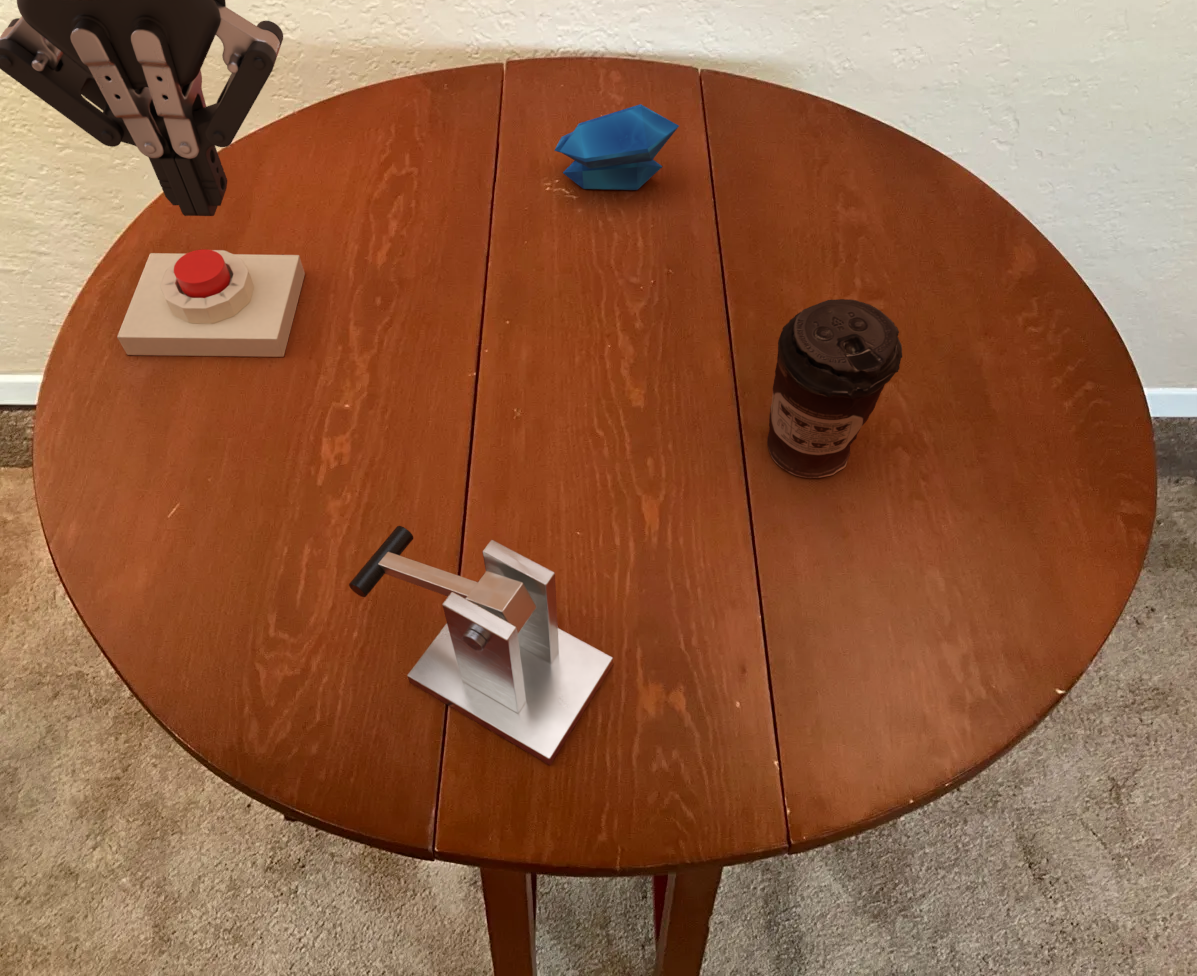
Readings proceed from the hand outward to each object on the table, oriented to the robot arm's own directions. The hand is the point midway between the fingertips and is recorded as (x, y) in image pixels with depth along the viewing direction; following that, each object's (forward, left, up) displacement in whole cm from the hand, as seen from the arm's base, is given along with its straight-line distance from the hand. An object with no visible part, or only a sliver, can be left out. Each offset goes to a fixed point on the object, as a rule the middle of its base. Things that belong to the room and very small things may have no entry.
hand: (203, 205), depth 50 cm
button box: (-12, +19, -27) cm, 35 cm away
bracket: (+15, -14, -27) cm, 34 cm away
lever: (+12, -12, -19) cm, 26 cm away
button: (-12, +19, -23) cm, 32 cm away
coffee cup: (+37, +5, -27) cm, 46 cm away
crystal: (+22, +37, -27) cm, 51 cm away
